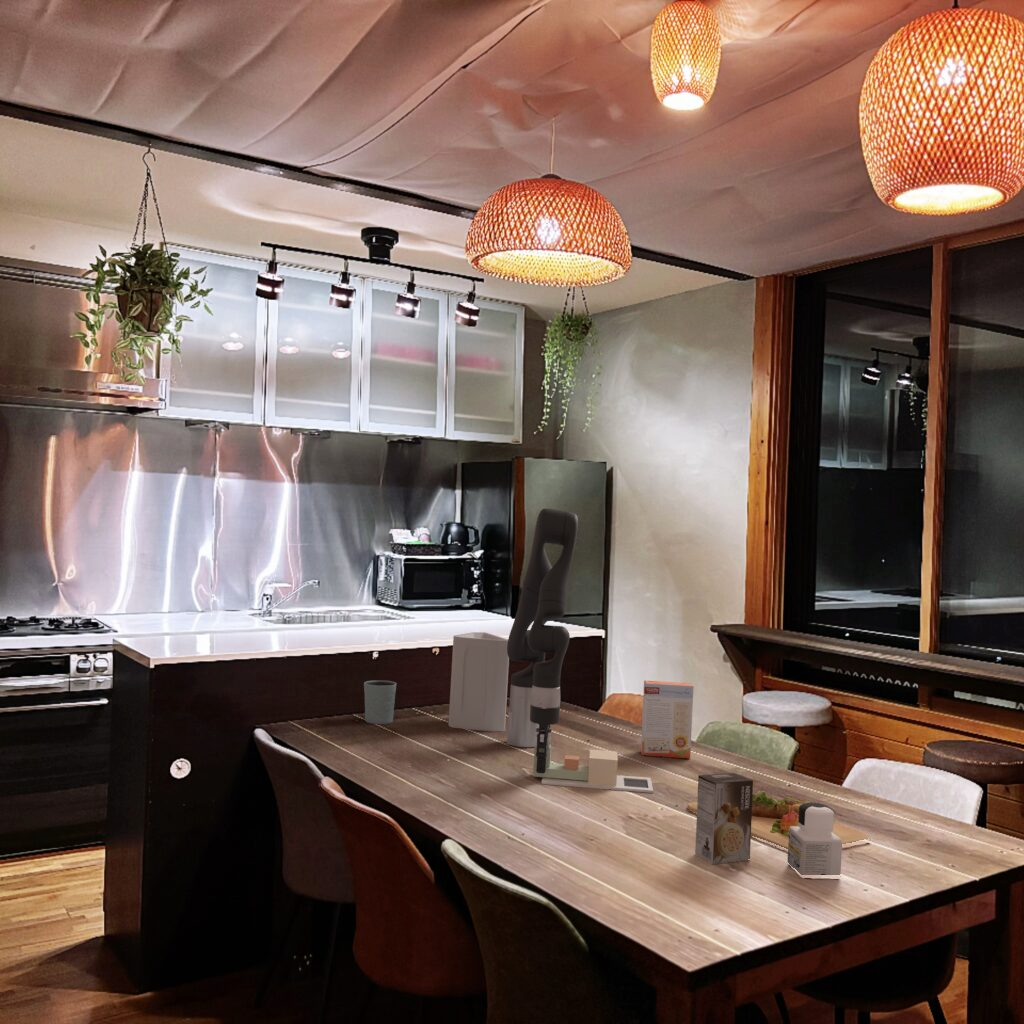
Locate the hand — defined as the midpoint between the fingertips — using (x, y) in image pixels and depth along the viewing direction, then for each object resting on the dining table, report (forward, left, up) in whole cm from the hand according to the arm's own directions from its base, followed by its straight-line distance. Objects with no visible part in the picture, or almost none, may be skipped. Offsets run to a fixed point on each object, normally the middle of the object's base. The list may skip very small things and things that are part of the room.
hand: (541, 769), depth 245 cm
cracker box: (+33, +35, -2) cm, 49 cm away
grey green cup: (-55, +51, -2) cm, 75 cm away
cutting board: (+54, -24, -3) cm, 59 cm away
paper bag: (-26, +55, -2) cm, 61 cm away
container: (+56, -53, -2) cm, 77 cm away
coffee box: (+39, -49, -2) cm, 63 cm away
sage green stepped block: (+5, 0, -1) cm, 5 cm away
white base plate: (+14, 0, -2) cm, 14 cm away
